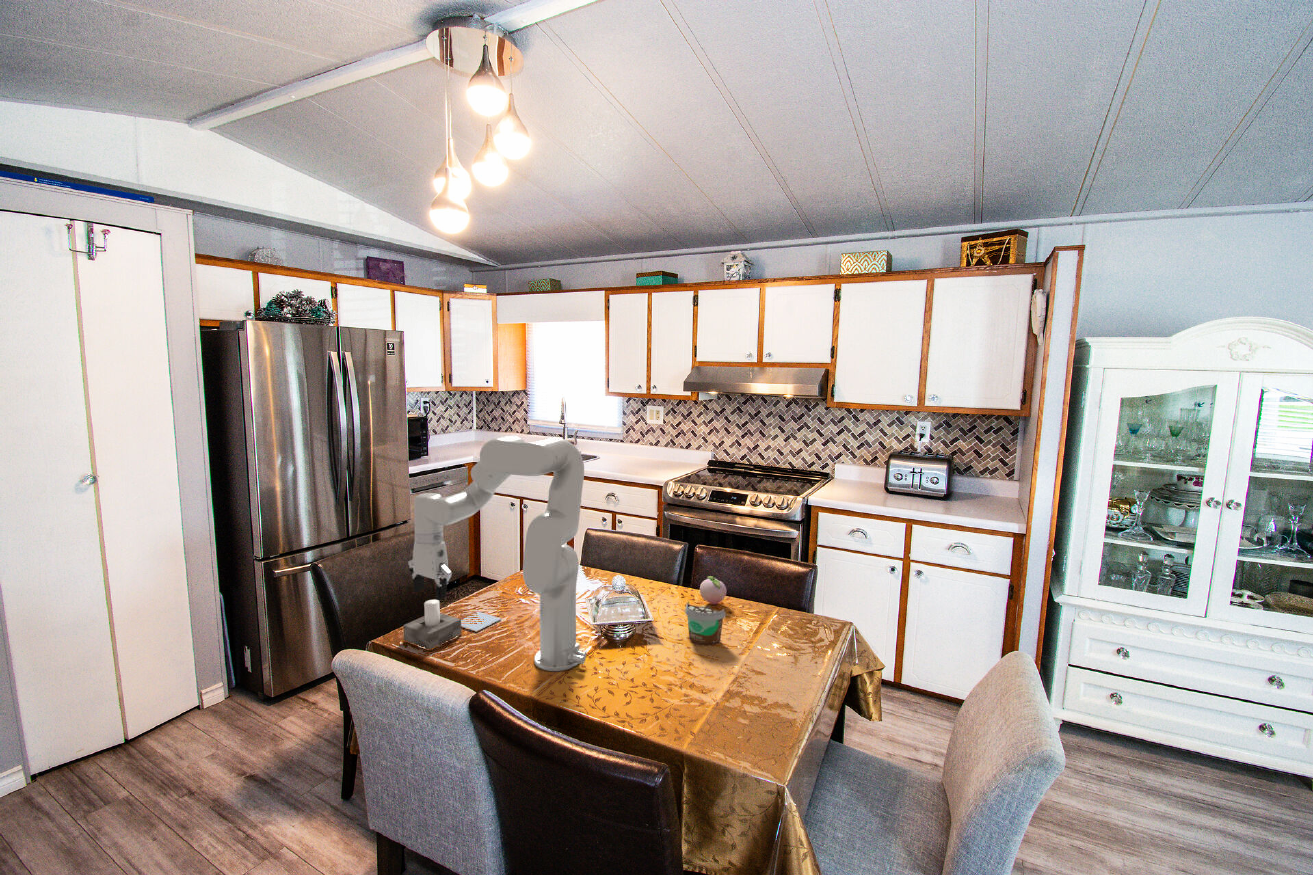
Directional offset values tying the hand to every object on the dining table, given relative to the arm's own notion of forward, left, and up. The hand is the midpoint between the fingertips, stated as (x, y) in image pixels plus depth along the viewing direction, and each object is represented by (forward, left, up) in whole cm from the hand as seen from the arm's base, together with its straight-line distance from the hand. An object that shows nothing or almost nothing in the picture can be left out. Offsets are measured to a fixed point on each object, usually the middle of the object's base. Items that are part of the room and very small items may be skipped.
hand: (429, 594), depth 160 cm
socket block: (-1, 0, -13) cm, 13 cm away
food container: (-69, -38, -13) cm, 80 cm away
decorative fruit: (-61, -64, -13) cm, 89 cm away
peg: (-1, 0, -13) cm, 13 cm away
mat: (-4, -14, -13) cm, 20 cm away
